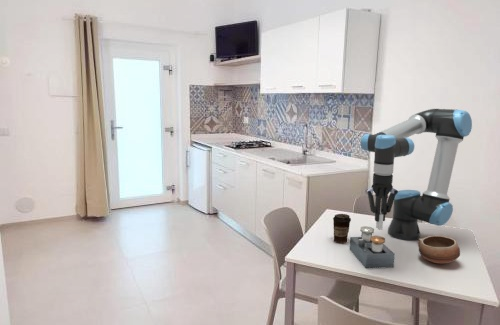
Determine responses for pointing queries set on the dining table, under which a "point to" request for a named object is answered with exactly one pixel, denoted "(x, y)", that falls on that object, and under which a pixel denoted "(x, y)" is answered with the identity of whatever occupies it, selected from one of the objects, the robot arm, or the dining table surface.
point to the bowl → (439, 249)
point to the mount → (372, 255)
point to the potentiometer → (361, 242)
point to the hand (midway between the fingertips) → (379, 228)
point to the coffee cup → (341, 227)
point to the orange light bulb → (377, 244)
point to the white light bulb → (366, 233)
